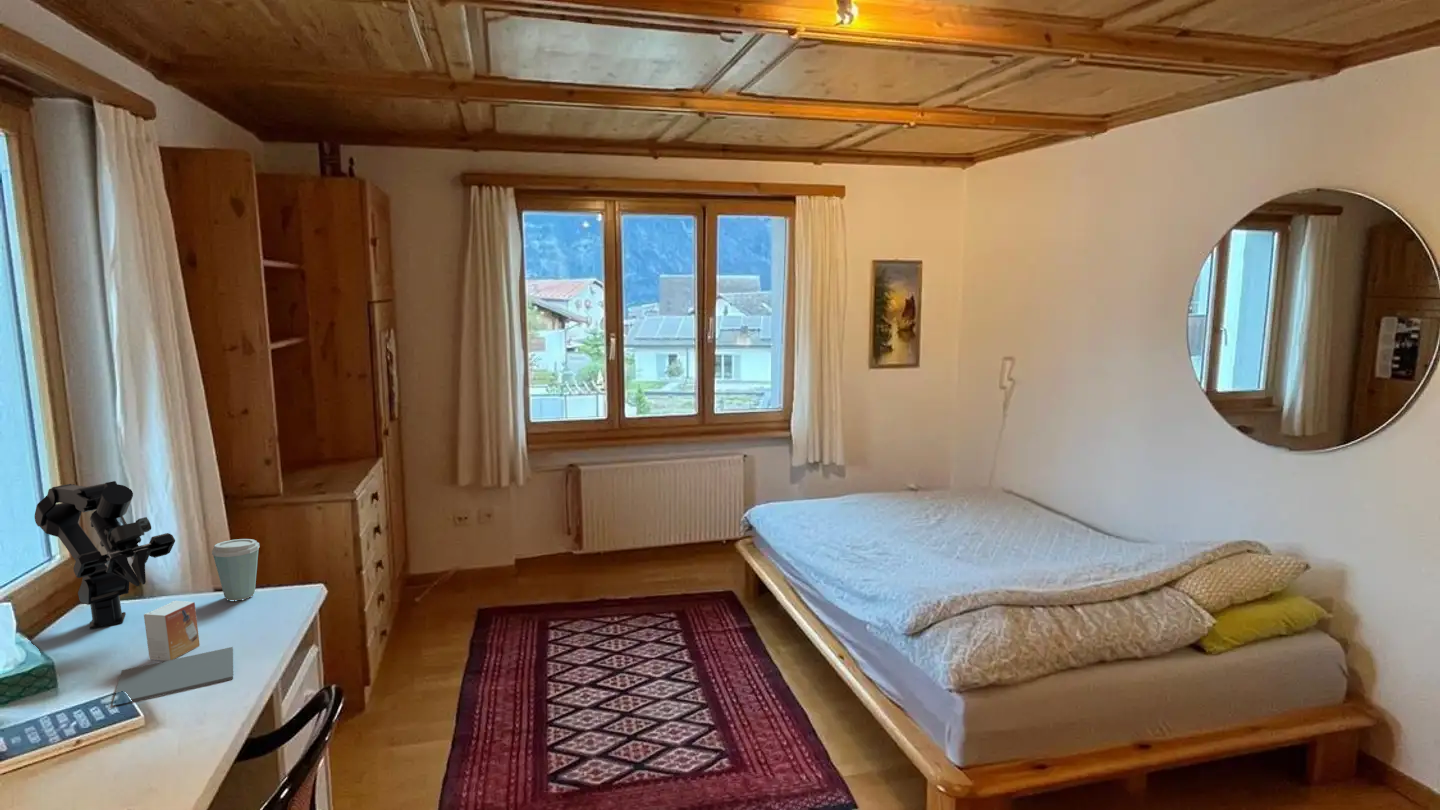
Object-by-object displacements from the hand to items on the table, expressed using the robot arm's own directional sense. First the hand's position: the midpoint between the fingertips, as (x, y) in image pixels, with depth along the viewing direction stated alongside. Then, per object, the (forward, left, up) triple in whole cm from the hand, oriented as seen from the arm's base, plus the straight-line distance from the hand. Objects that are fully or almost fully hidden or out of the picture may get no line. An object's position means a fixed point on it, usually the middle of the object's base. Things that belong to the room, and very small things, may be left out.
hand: (141, 584), depth 183 cm
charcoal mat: (+24, +6, -14) cm, 28 cm away
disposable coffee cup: (-19, +18, -14) cm, 30 cm away
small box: (+11, +6, -14) cm, 18 cm away
